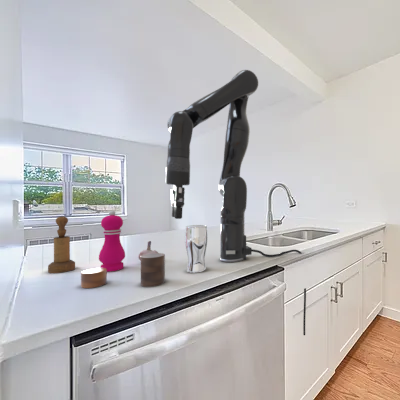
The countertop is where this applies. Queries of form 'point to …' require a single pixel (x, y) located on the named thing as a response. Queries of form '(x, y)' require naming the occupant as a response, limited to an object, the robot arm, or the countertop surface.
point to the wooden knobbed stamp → (61, 250)
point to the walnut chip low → (152, 278)
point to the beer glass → (196, 247)
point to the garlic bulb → (147, 251)
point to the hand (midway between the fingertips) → (176, 217)
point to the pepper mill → (112, 243)
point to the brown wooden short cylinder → (93, 277)
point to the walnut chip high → (152, 262)
